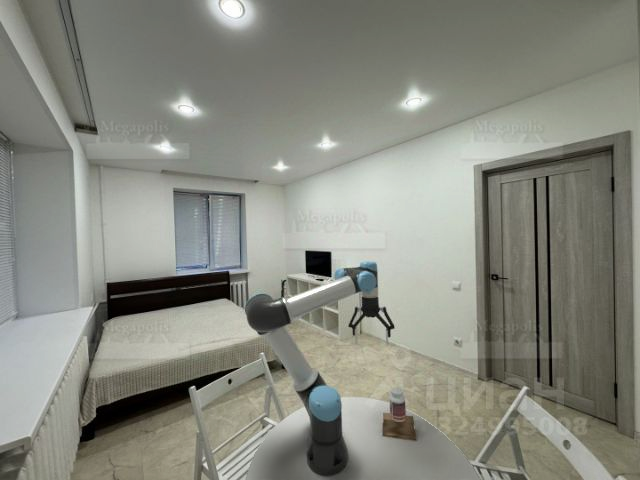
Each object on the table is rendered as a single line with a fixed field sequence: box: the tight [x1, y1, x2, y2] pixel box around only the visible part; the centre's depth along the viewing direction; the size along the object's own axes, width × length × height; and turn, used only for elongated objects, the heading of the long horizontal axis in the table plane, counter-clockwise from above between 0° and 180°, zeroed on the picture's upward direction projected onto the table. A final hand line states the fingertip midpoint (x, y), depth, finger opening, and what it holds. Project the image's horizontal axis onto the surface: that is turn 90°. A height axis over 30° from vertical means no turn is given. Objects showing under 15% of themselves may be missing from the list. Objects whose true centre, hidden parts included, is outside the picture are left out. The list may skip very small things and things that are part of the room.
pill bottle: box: [389, 387, 407, 422], centre depth 108 cm, size 6×6×11 cm
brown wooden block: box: [381, 412, 417, 442], centre depth 108 cm, size 13×7×6 cm, turn 76°
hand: (371, 343), depth 118 cm, fingers open, 13 cm apart
